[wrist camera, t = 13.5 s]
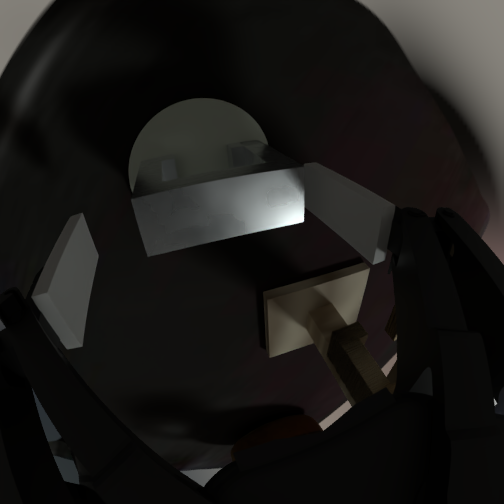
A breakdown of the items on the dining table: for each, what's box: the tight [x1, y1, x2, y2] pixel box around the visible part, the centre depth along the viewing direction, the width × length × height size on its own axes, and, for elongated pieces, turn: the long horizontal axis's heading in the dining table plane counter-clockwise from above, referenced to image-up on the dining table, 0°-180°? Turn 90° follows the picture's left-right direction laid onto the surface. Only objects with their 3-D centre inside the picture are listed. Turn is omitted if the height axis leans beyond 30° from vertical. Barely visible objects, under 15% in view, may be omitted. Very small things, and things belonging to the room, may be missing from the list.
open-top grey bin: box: [131, 140, 305, 257], centre depth 15 cm, size 8×3×7 cm, turn 94°
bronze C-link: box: [327, 305, 397, 404], centre depth 17 cm, size 8×3×7 cm, turn 94°
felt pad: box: [129, 98, 268, 193], centre depth 18 cm, size 10×10×1 cm
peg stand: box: [263, 244, 454, 407], centre depth 20 cm, size 12×22×20 cm, turn 4°
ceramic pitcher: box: [231, 415, 323, 461], centre depth 39 cm, size 20×20×30 cm
